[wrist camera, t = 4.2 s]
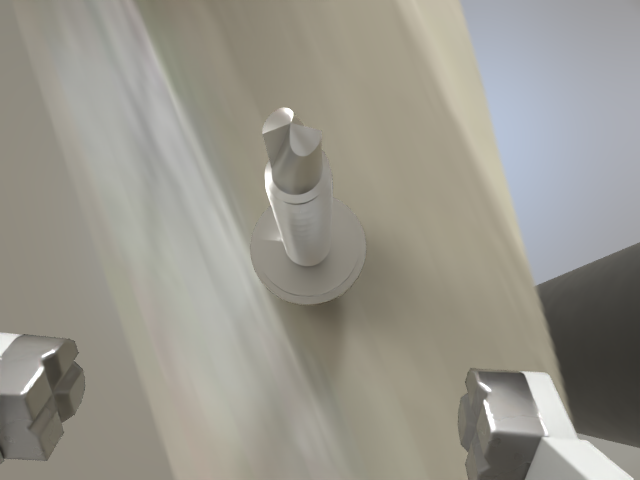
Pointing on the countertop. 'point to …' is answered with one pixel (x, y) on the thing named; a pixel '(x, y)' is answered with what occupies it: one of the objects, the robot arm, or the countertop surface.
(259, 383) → the countertop surface
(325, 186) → the screw
